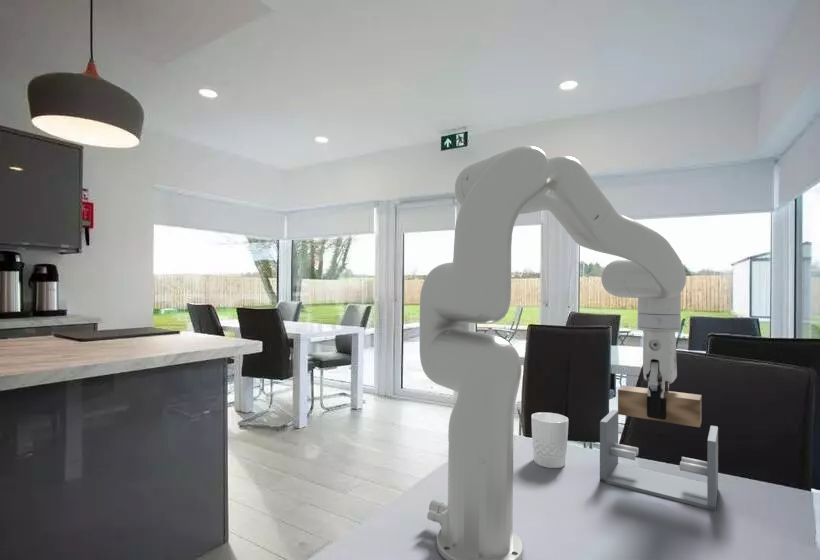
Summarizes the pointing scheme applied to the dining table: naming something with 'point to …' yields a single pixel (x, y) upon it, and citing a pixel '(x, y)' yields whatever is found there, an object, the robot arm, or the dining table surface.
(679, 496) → the peg frame
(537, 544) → the dining table surface
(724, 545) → the dining table surface
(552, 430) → the white cup
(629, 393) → the shelf board
